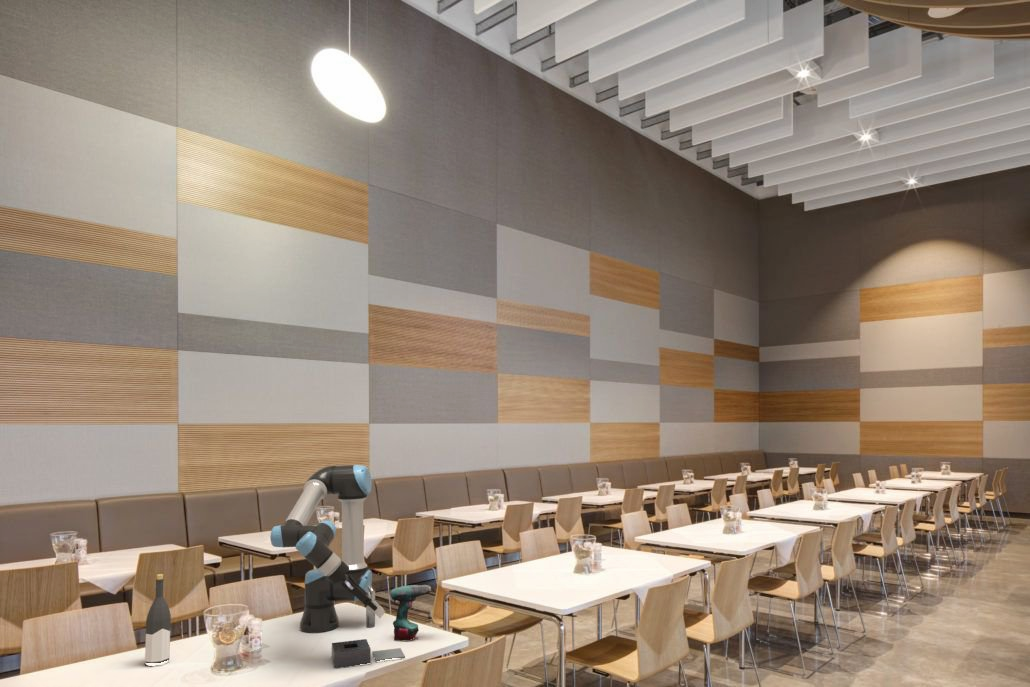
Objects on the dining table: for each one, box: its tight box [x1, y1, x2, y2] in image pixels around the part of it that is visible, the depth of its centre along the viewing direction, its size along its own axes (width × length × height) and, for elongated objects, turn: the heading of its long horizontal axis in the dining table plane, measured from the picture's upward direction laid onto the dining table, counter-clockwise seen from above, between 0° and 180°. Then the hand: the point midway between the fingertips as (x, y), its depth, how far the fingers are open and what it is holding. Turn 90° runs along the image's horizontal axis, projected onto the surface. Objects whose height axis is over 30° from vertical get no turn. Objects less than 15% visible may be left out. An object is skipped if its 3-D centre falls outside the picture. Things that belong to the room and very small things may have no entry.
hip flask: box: [365, 584, 376, 629], centre depth 250 cm, size 8×3×13 cm, turn 18°
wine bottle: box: [144, 573, 172, 663], centre depth 251 cm, size 8×8×30 cm
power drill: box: [389, 584, 432, 641], centre depth 272 cm, size 7×16×20 cm, turn 78°
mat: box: [371, 647, 406, 662], centre depth 251 cm, size 10×10×1 cm
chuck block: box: [331, 638, 372, 669], centre depth 247 cm, size 12×12×5 cm
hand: (381, 613), depth 251 cm, fingers closed on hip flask, 3 cm apart
